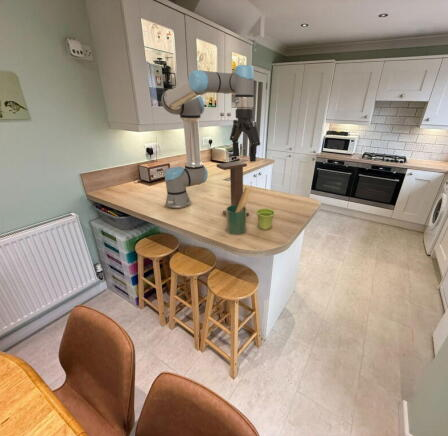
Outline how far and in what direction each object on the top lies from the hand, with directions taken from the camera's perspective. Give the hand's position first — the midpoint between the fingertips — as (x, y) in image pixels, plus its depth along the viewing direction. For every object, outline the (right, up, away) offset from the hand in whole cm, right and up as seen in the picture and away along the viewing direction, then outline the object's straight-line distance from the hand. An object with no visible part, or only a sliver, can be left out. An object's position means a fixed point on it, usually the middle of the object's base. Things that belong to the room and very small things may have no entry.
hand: (243, 158), depth 109 cm
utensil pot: (-4, -34, +11) cm, 36 cm away
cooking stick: (-3, -23, +7) cm, 24 cm away
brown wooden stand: (-6, -26, +27) cm, 38 cm away
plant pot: (+11, -33, +14) cm, 37 cm away
